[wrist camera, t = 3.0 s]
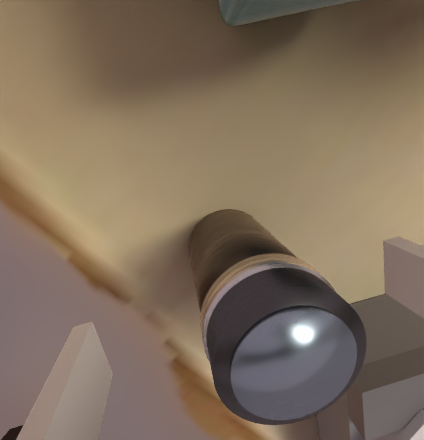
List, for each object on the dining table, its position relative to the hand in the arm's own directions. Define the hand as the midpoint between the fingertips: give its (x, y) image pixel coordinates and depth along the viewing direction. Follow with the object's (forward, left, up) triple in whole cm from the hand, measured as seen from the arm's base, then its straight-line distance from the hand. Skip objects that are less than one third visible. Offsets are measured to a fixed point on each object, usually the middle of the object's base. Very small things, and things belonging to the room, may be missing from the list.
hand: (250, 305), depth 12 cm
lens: (0, 0, -6) cm, 6 cm away
